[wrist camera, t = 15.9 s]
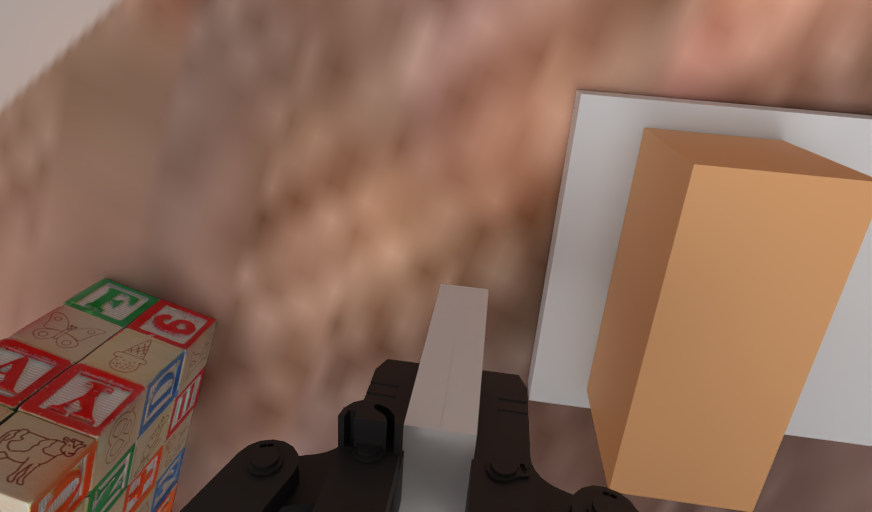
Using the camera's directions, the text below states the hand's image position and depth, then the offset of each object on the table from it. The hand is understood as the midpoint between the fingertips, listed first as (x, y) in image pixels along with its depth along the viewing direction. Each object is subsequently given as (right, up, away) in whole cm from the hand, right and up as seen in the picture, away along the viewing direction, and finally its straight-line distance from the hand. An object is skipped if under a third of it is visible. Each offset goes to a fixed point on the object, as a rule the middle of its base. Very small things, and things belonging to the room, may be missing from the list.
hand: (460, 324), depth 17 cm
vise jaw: (+9, +1, +5) cm, 11 cm away
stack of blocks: (-18, -9, +15) cm, 26 cm away
